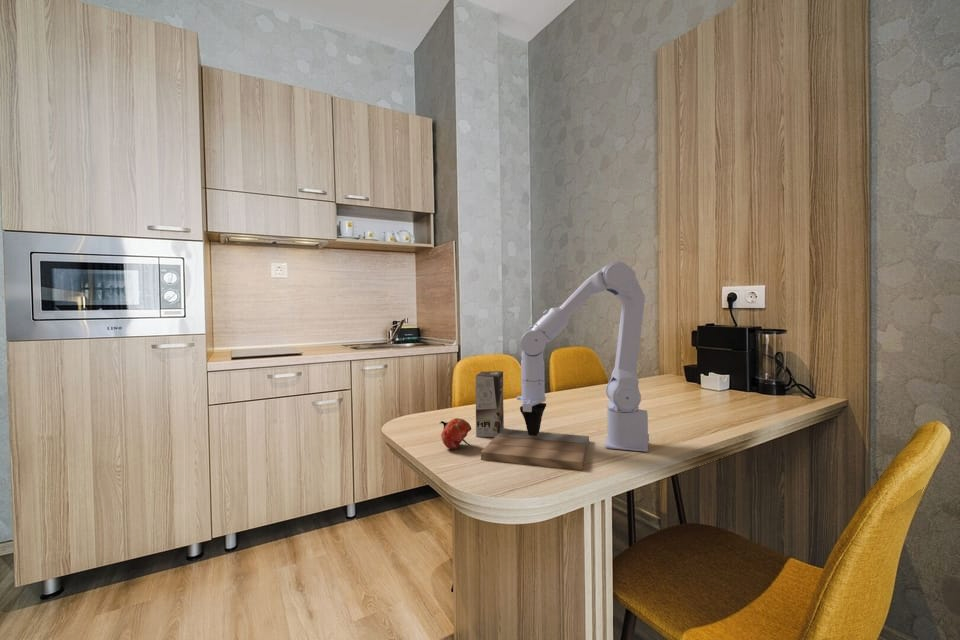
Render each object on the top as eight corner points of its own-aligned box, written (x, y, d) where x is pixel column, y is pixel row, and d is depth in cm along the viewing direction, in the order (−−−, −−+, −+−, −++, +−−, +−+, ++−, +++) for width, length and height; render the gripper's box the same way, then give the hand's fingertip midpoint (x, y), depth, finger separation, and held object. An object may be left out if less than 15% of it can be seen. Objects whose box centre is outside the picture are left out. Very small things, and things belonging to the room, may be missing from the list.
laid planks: (586, 451, 99) (586, 444, 99) (581, 470, 87) (581, 462, 87) (496, 442, 106) (496, 436, 106) (480, 459, 94) (480, 451, 94)
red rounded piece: (471, 451, 106) (441, 425, 108) (486, 431, 104) (456, 405, 106) (459, 465, 99) (427, 437, 102) (475, 444, 97) (442, 415, 99)
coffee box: (499, 438, 110) (498, 376, 109) (475, 437, 111) (474, 375, 110) (504, 428, 119) (503, 370, 118) (482, 427, 120) (481, 370, 119)
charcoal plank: (589, 442, 106) (589, 436, 106) (586, 450, 99) (586, 443, 99) (504, 434, 113) (504, 429, 113) (496, 441, 106) (496, 435, 106)
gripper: (523, 374, 113) (524, 424, 113) (509, 384, 99) (510, 441, 99) (550, 375, 110) (550, 426, 111) (539, 385, 97) (540, 444, 97)
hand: (533, 434), depth 105 cm, fingers closed
